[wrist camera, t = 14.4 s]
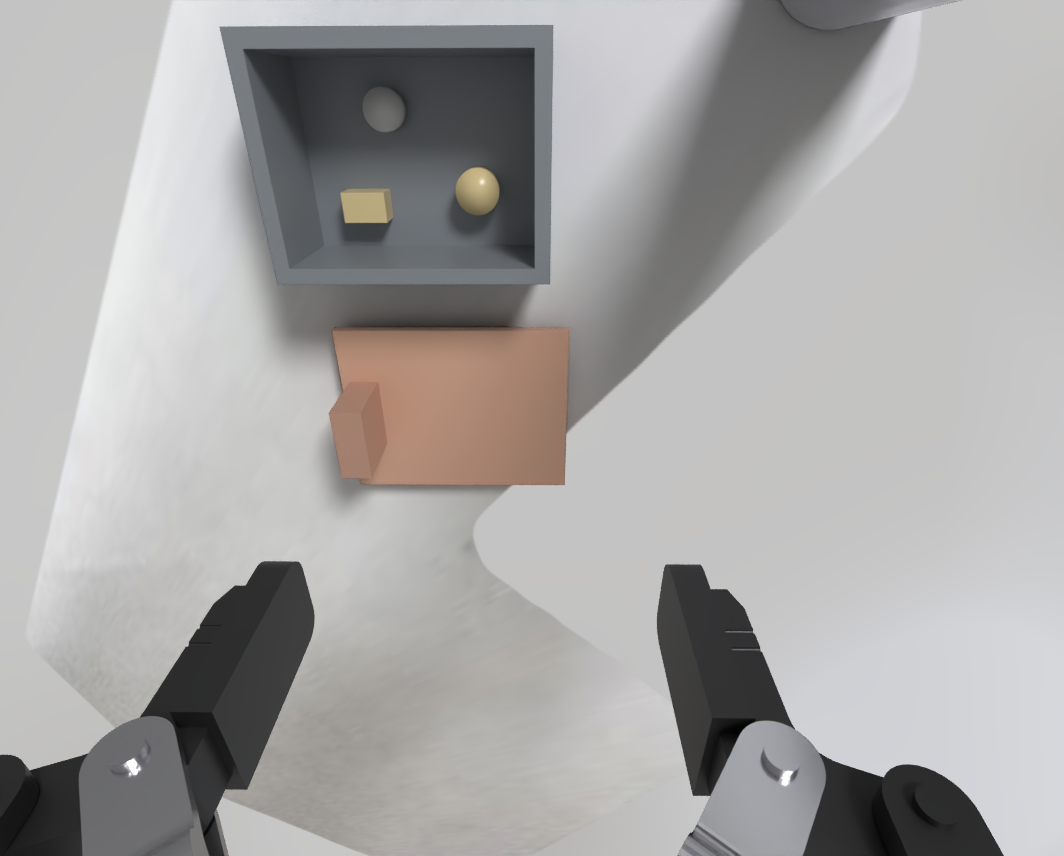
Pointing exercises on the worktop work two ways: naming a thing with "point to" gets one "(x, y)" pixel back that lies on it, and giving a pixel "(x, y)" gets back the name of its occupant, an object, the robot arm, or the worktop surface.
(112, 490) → the worktop surface
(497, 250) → the tub
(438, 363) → the lid
